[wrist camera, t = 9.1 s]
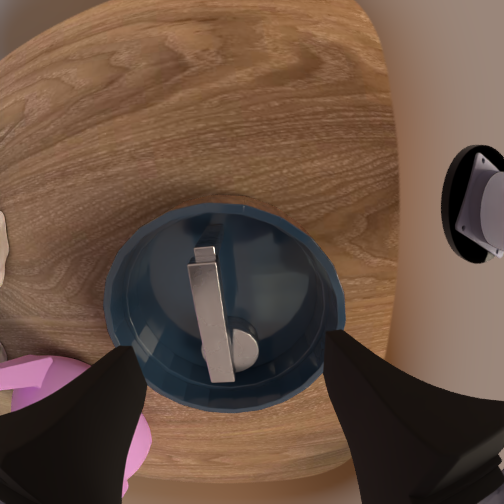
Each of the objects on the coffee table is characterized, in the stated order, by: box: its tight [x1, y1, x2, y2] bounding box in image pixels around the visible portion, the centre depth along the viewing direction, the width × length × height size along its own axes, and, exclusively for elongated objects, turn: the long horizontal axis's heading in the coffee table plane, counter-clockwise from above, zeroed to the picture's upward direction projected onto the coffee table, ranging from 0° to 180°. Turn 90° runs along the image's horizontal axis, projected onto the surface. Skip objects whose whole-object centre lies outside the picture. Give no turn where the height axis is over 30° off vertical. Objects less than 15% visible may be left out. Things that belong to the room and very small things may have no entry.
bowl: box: [103, 194, 346, 413], centre depth 17 cm, size 14×14×4 cm
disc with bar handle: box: [187, 224, 259, 383], centre depth 16 cm, size 10×4×6 cm, turn 5°
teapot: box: [0, 355, 152, 497], centre depth 17 cm, size 22×16×12 cm
